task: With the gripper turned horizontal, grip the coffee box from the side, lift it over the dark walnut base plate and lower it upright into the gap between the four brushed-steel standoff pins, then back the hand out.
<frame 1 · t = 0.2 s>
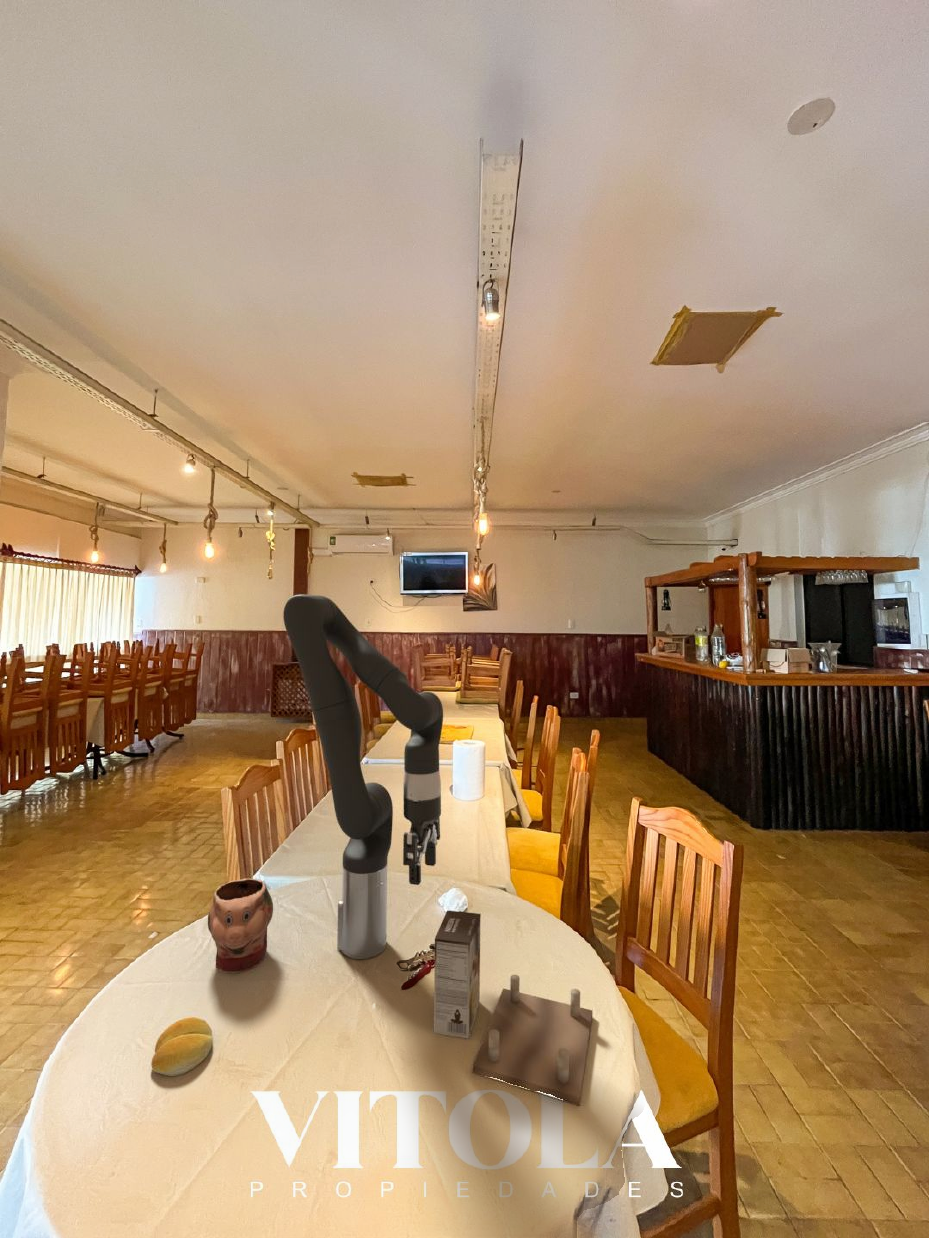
hand: (423, 873, 108), 17 cm above the table, tool pointing down, fingers open, 8 cm apart
decorative planter: (240, 955, 110), on the table
standoff plate: (536, 1043, 88), on the table
bread roll: (182, 1055, 85), on the table
coffee box: (457, 1018, 93), on the table
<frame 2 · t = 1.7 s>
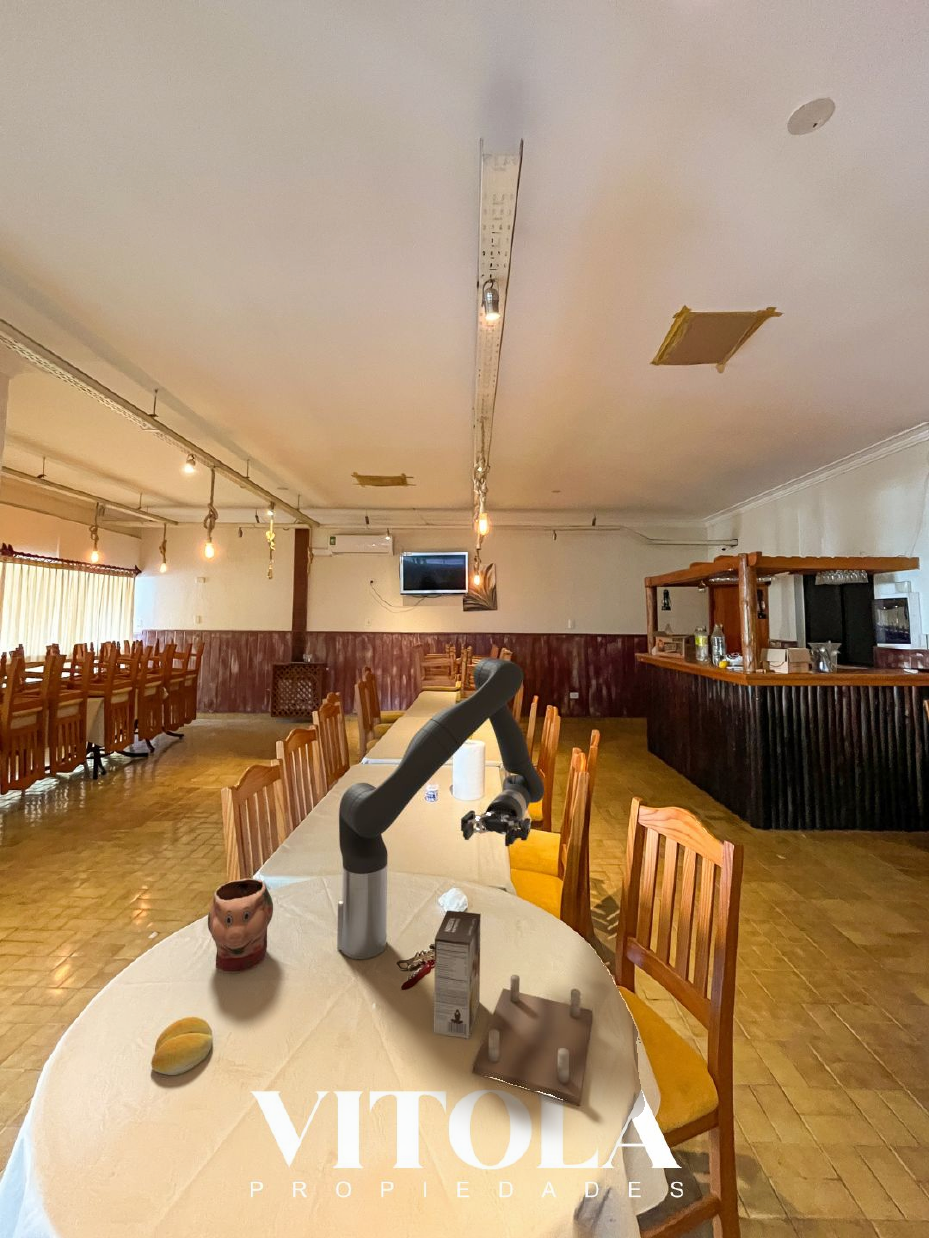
hand: (486, 838, 108), 25 cm above the table, tool horizontal, fingers open, 8 cm apart
nothing on the table moved.
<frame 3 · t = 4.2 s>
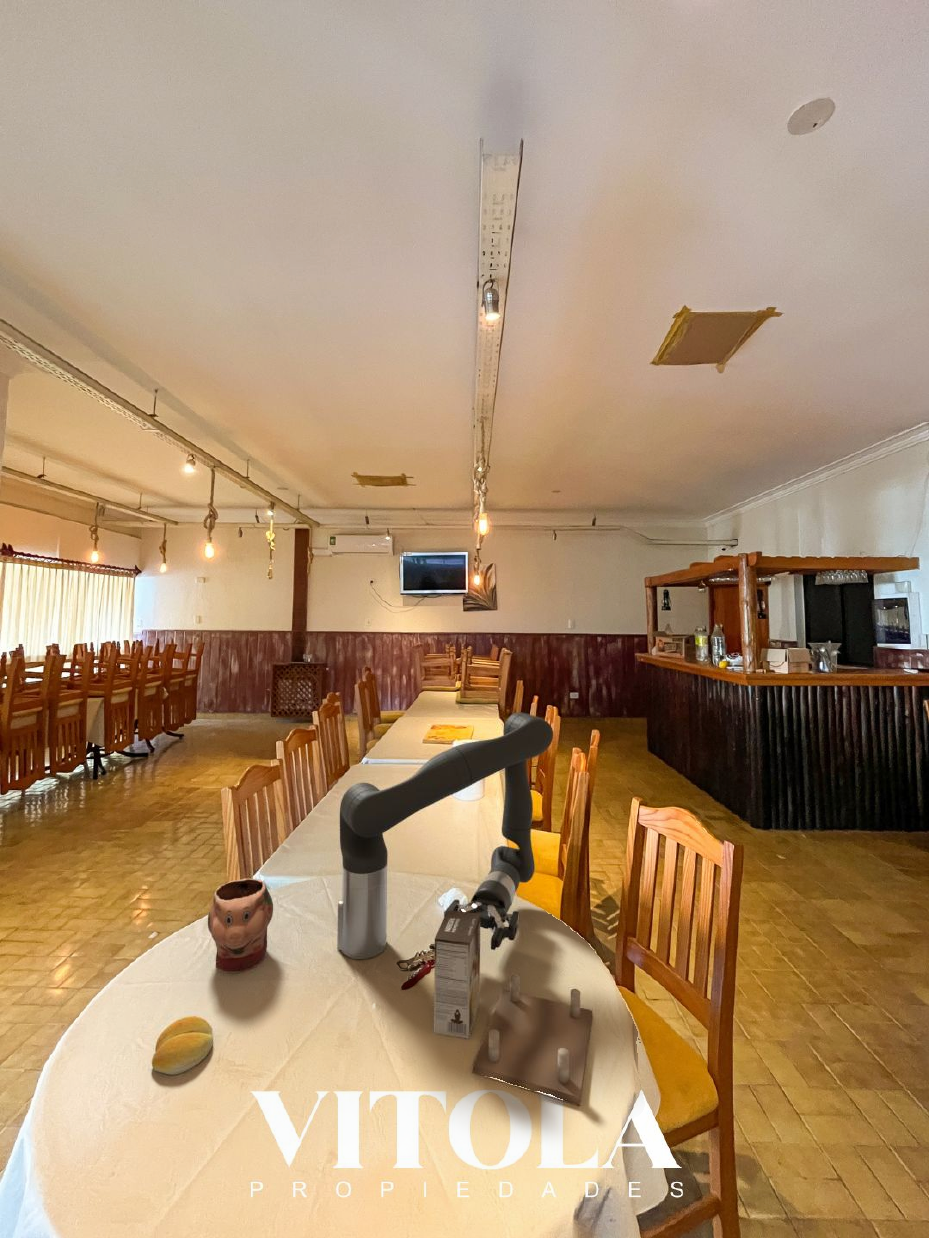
hand: (470, 939, 100), 10 cm above the table, tool horizontal, fingers open, 8 cm apart
nothing on the table moved.
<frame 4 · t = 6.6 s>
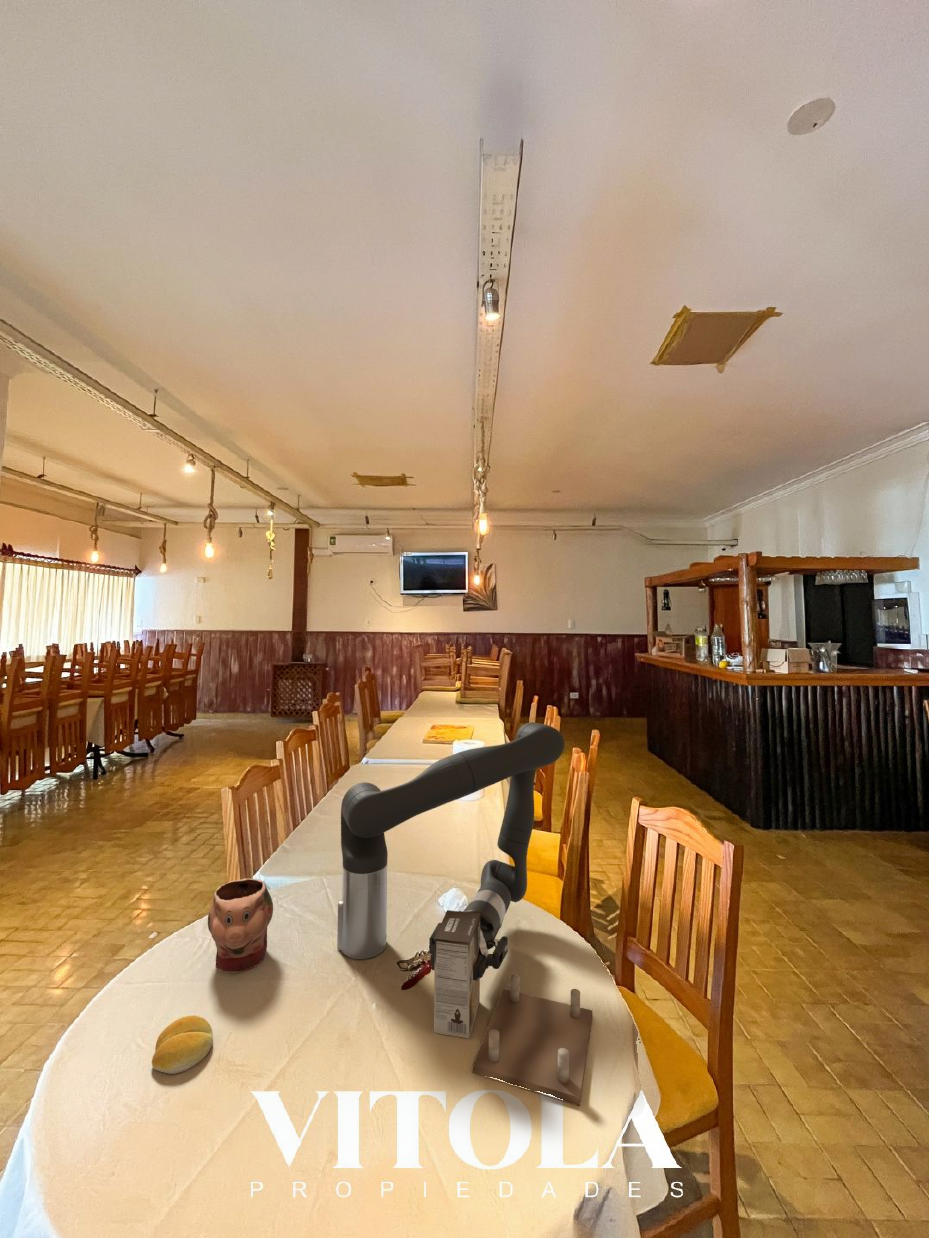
hand: (454, 969, 91), 10 cm above the table, tool horizontal, fingers closed on coffee box, 7 cm apart
coffee box: (457, 1017, 93), on the table, touching gripper
everything else where it was.
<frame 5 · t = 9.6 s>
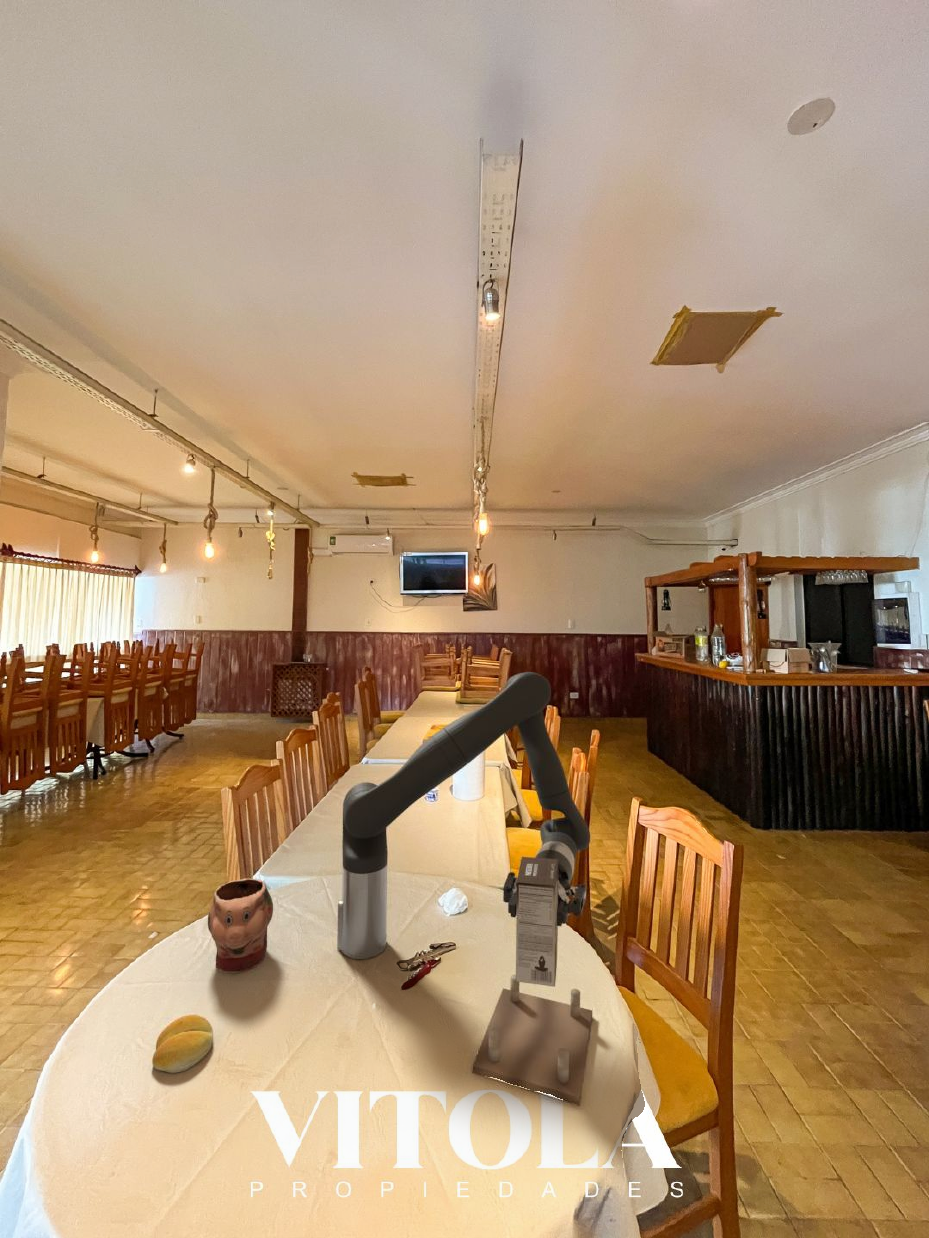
hand: (535, 915, 86), 22 cm above the table, tool horizontal, fingers closed on coffee box, 7 cm apart
coffee box: (537, 967, 88), point 12 cm above the table, touching gripper
everything else where it was.
when the fingers open (12 cm above the table, at t = 12.5 s): coffee box drops 1 cm, resting on standoff plate.
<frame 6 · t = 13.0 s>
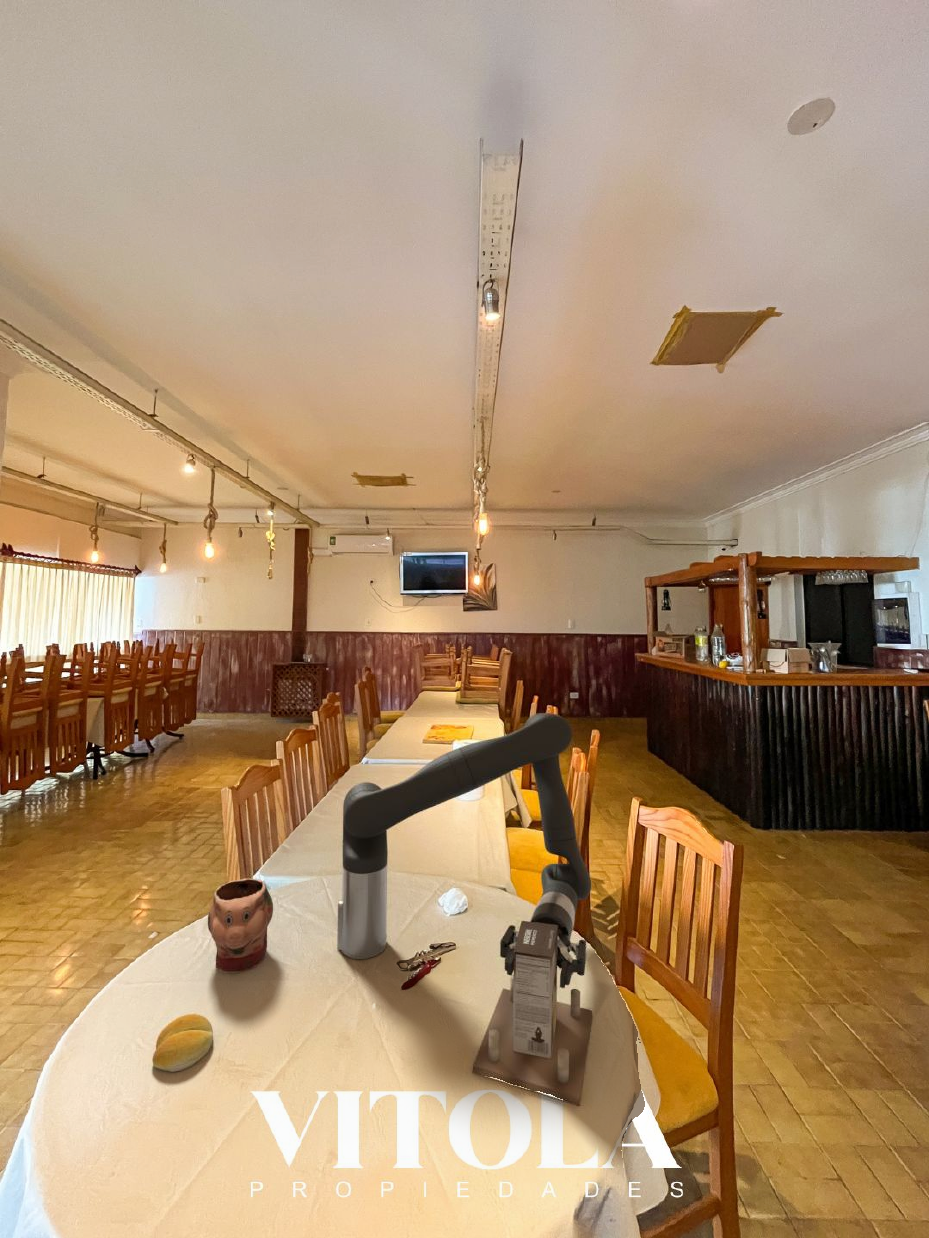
hand: (535, 975, 86), 12 cm above the table, tool horizontal, fingers open, 8 cm apart
coffee box: (535, 1035, 88), point 1 cm above the table, touching standoff plate
everything else where it was.
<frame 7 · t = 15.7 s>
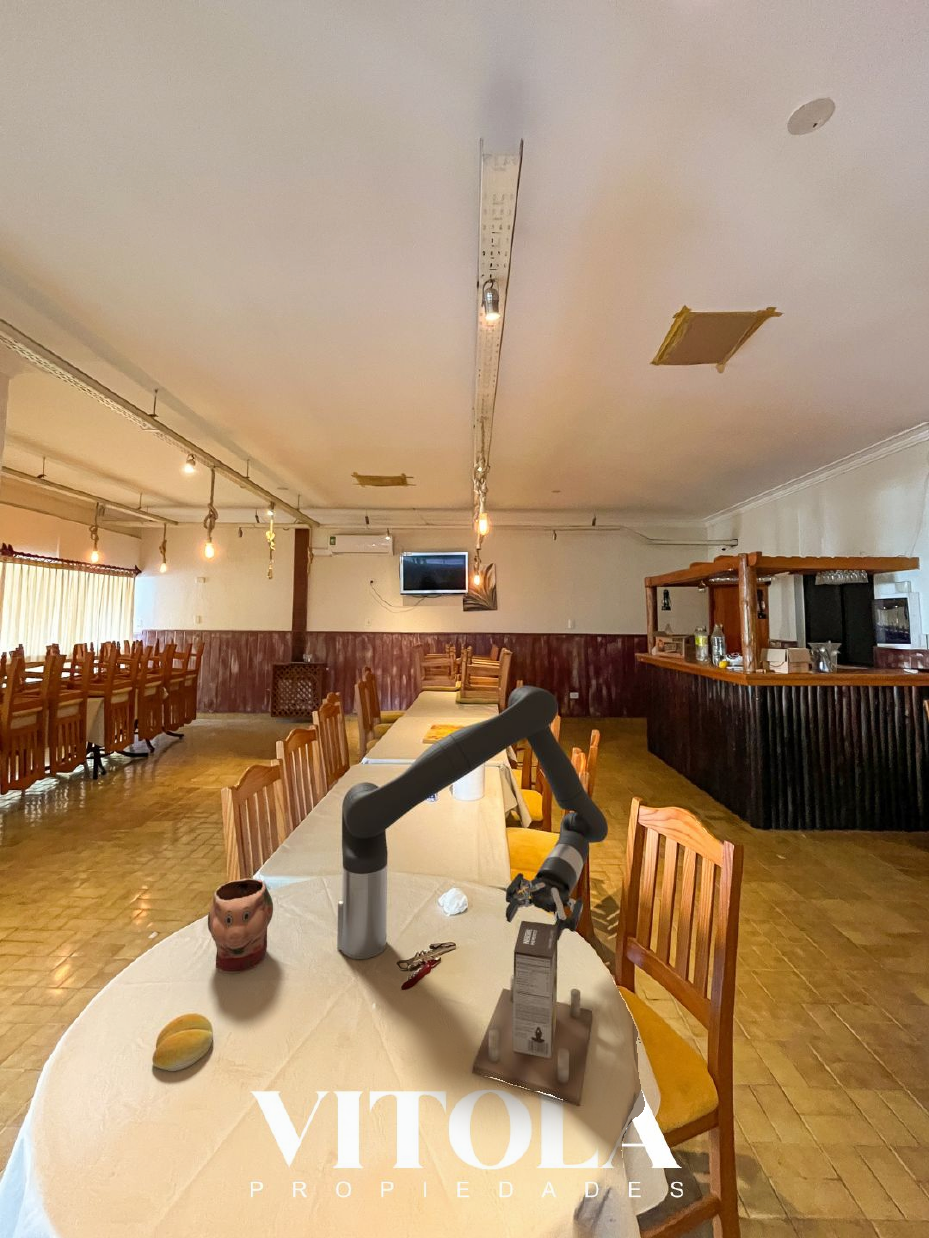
hand: (529, 928, 99), 12 cm above the table, tool horizontal, fingers open, 8 cm apart
nothing on the table moved.
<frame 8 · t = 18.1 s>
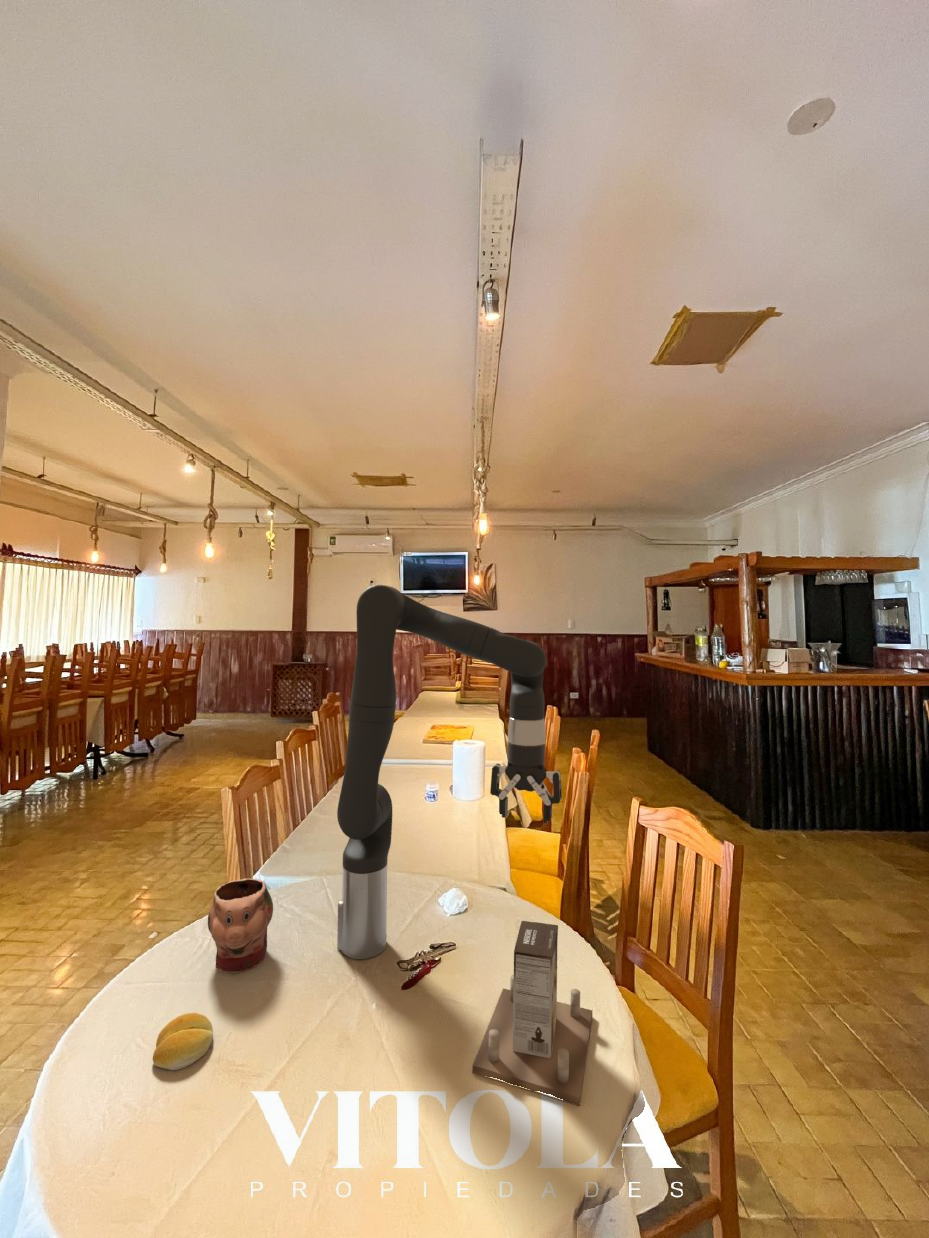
hand: (525, 819, 110), 28 cm above the table, tool pointing down, fingers open, 8 cm apart
at the end: coffee box 0.4 cm off-centre on the standoff plate, point 1.0 cm above the standoff plate's base; coffee box tilted 0°; the gripper is holding nothing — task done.
